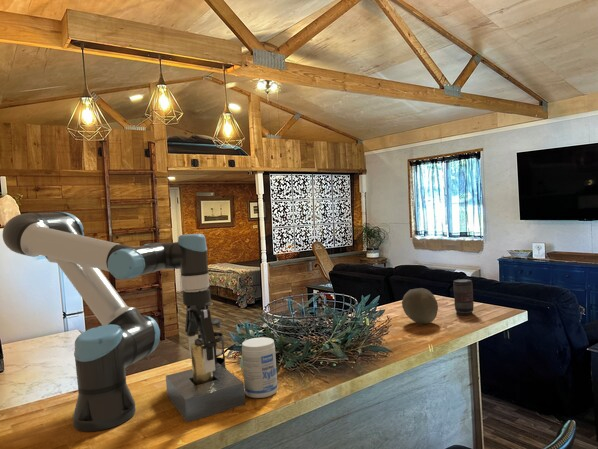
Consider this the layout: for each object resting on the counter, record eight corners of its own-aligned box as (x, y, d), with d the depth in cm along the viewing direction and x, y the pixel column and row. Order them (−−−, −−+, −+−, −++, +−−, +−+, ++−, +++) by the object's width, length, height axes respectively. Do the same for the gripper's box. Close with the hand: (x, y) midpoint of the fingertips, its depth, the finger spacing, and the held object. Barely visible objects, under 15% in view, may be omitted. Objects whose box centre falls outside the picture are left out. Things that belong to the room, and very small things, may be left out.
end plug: (198, 406, 118) (193, 344, 118) (192, 399, 123) (187, 339, 122) (217, 400, 121) (212, 339, 120) (210, 394, 126) (206, 335, 125)
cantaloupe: (425, 317, 191) (423, 284, 190) (445, 325, 178) (443, 289, 177) (397, 322, 187) (395, 287, 186) (416, 330, 173) (414, 293, 173)
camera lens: (475, 312, 194) (474, 279, 194) (472, 316, 188) (470, 282, 187) (457, 310, 199) (455, 278, 198) (452, 315, 192) (451, 281, 191)
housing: (186, 422, 109) (185, 399, 109) (167, 395, 127) (165, 375, 126) (245, 404, 117) (243, 382, 117) (219, 381, 135) (217, 362, 134)
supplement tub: (270, 400, 119) (266, 348, 118) (239, 398, 122) (235, 346, 121) (282, 386, 128) (279, 337, 127) (253, 384, 131) (249, 336, 130)
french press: (230, 373, 140) (225, 303, 140) (201, 380, 136) (195, 308, 136) (220, 363, 151) (215, 297, 150) (193, 368, 147) (188, 302, 146)
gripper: (225, 293, 112) (231, 373, 113) (195, 282, 133) (201, 350, 134) (196, 297, 108) (203, 381, 109) (171, 285, 130) (176, 355, 130)
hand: (202, 364), depth 122 cm, fingers open, 13 cm apart
